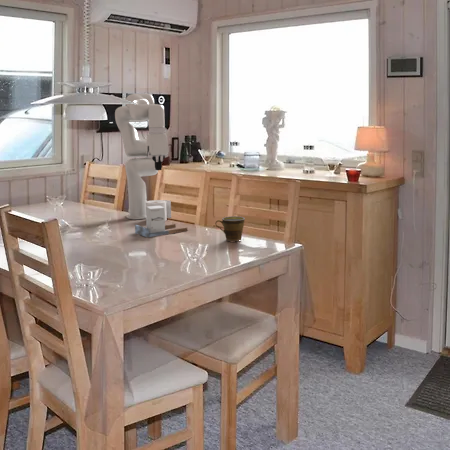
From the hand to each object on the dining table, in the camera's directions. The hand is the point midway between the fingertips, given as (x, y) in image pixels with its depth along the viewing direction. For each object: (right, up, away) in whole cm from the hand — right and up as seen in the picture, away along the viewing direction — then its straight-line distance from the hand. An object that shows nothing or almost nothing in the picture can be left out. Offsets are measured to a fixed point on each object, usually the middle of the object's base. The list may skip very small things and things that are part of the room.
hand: (158, 169), depth 296 cm
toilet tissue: (-4, -24, +28) cm, 37 cm away
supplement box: (-1, -30, -3) cm, 31 cm away
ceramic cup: (+34, -34, -21) cm, 52 cm away
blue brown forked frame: (+2, -30, -1) cm, 30 cm away
